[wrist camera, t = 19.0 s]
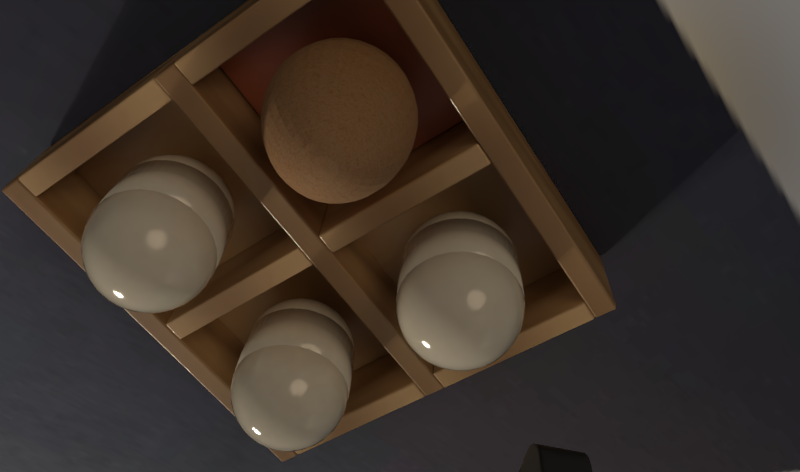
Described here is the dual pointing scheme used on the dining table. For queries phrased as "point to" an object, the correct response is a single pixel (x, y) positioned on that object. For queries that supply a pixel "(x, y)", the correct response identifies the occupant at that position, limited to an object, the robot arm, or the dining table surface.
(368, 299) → the egg tray
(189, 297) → the cream egg
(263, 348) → the cream egg
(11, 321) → the dining table surface
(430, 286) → the cream egg
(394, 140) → the egg
